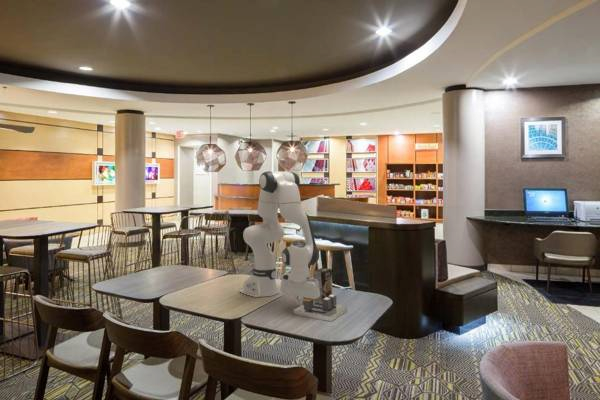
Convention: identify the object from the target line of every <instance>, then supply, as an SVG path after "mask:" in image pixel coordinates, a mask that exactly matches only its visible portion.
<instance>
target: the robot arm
mask: <svg viewBox="0 0 600 400" xmlns="http://www.w3.org/2000/svg"><path fill="white" fill-rule="evenodd" d="M258 182H259V187H260V192H259V196H258V202H257V211H256V212H257V215H258V216H259V217H261V218H262V223H258V224H252V225H250V226H248V227H246V228H245V229H244V230H243V233H242V235H243V236H242V238H243V240H244V242H245V244H247V245H248V246H249V247H250V248H251V249H252V252H253V257H254V268H251V271H250V272H251V273H252V274H251V275H250V276H249V277H248V278H246V279H245V280H244V282H243V287H242V288H241V289H239V291H238V293H240V292H241V293H240V294H243V293H244V294H243V295H246V294H247V295H246V296H249V295H250V297H252V296H253V298H262V297H273V296H275V295H277V294H279V289H278V286H277V281H276V275H277V272H276V266H275V265H276V262H275V260H276V259H275V258H276V257H275V253H274V252H273V251H272V250H270V249H269V247H268V244H271V243H275V242H278V241H280V240H282V239H283V238H284V236H285V229H284V226H283V225H282V224H281V223H280V221H279V217H278V211H279V213H280V216H281V217H282V218H283V220H285V221H287V222H289V223H292V224H295V225H297V226H298V227H300V228H301V229H302V232H303V236H304V241H305V242H304V241H300V240H299V241H298V240H297V241H293V242H292V243H290V245H289V246H287V247H284V249H283V250H282V252H281V259H282V263H283V264H284V265H285V266H288V267H290V269H289V270H290V271H289V272H285V273H284V274H282V275H281V281H280V292H281V294H283V295H284V294H285V295H290V296H294V299H295V301H296V305H297V306H303V305H304V299H305V298H312V299H317V298H319V296H320V289H319V281H318V280H316V279H315V278H313V277H310V268H309V266H314V265H315V264H317V263H318V261H319V259H320V253H319V249H318V246H317V244H316V240H315V236H314V232H313V228H312V223H311V220H310V217H309V215H308V213H306V212H305V211H304V210H303V209H304V208H303V206H302V202H301V201H302V200H301V195H300V194H301V193H300V189H299V186H300V184H301V181H300V177H299V175H298V174H297V173H296V172H293V171H284V170H278V171H277V170H275V171H270V170H269V171H263V172H262V173H261V174H260V176H259V180H258ZM299 297H300V298H299ZM300 299H301V300H300Z"/></svg>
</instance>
